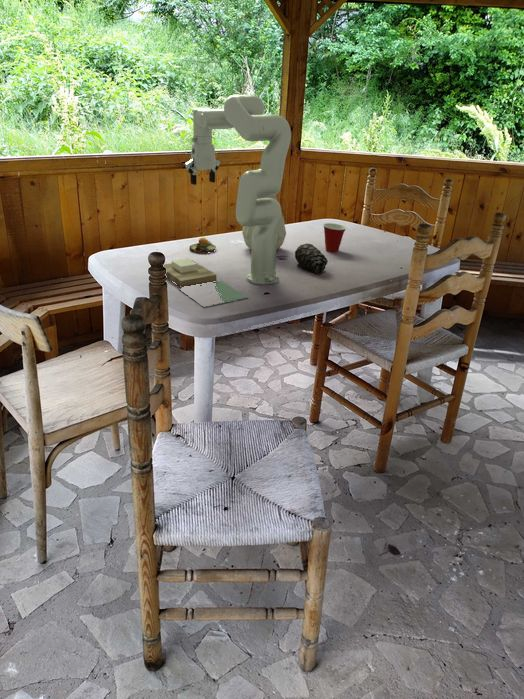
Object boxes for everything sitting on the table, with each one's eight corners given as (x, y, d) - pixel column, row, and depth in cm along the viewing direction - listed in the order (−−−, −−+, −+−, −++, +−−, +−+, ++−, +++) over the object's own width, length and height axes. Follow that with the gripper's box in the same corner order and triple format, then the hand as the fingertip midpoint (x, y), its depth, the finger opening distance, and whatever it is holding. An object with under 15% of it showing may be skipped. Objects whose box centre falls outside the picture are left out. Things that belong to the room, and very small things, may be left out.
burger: (216, 247, 255) (216, 231, 252) (215, 254, 245) (215, 238, 241) (190, 246, 255) (190, 230, 251) (188, 254, 244) (188, 237, 241)
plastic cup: (348, 253, 254) (351, 227, 248) (327, 255, 250) (330, 229, 245) (337, 246, 263) (339, 221, 257) (316, 248, 259) (319, 222, 254)
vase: (232, 247, 254) (233, 180, 240) (265, 241, 266) (268, 176, 253) (261, 259, 241) (264, 188, 227) (294, 251, 253) (298, 184, 239)
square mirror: (247, 298, 199) (247, 297, 199) (204, 307, 190) (204, 306, 190) (221, 282, 213) (221, 281, 213) (179, 290, 204) (179, 288, 204)
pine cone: (316, 277, 223) (319, 253, 218) (289, 265, 235) (290, 242, 231) (335, 273, 228) (338, 249, 224) (307, 261, 241) (309, 239, 236)
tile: (197, 270, 216) (197, 264, 214) (181, 272, 212) (180, 266, 211) (187, 264, 221) (187, 258, 220) (171, 266, 218) (171, 260, 217)
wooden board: (216, 282, 213) (216, 274, 212) (181, 288, 205) (181, 281, 204) (192, 267, 228) (191, 260, 226) (158, 272, 220) (158, 265, 219)
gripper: (190, 142, 219) (191, 186, 227) (224, 140, 229) (224, 182, 237) (180, 140, 224) (181, 183, 232) (213, 138, 234) (213, 179, 242)
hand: (203, 183), depth 234 cm, fingers open, 9 cm apart
